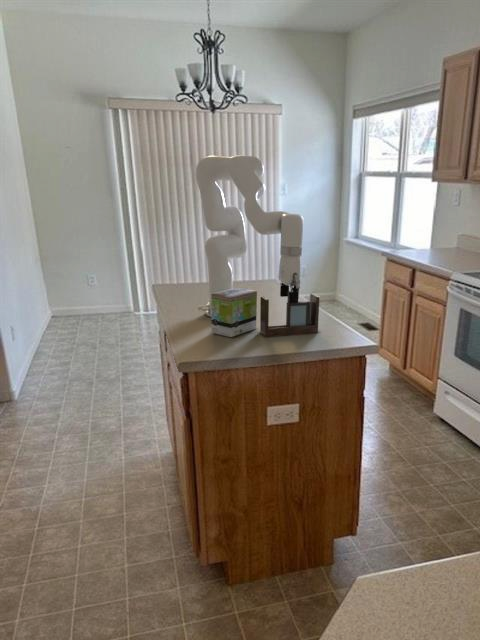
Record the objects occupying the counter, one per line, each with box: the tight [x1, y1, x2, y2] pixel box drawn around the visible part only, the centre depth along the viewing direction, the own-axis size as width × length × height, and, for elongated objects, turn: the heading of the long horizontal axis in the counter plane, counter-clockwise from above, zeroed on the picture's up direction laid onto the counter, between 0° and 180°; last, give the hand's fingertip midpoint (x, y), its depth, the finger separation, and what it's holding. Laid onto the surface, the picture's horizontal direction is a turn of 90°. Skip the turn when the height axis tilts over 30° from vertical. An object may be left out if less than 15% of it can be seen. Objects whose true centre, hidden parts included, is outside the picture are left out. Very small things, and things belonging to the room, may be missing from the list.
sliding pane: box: [285, 290, 310, 327], centre depth 194 cm, size 9×2×14 cm, turn 110°
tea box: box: [211, 287, 258, 338], centre depth 195 cm, size 15×10×15 cm, turn 148°
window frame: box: [259, 292, 320, 338], centre depth 195 cm, size 21×6×14 cm, turn 110°
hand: (289, 299), depth 192 cm, fingers open, 9 cm apart
